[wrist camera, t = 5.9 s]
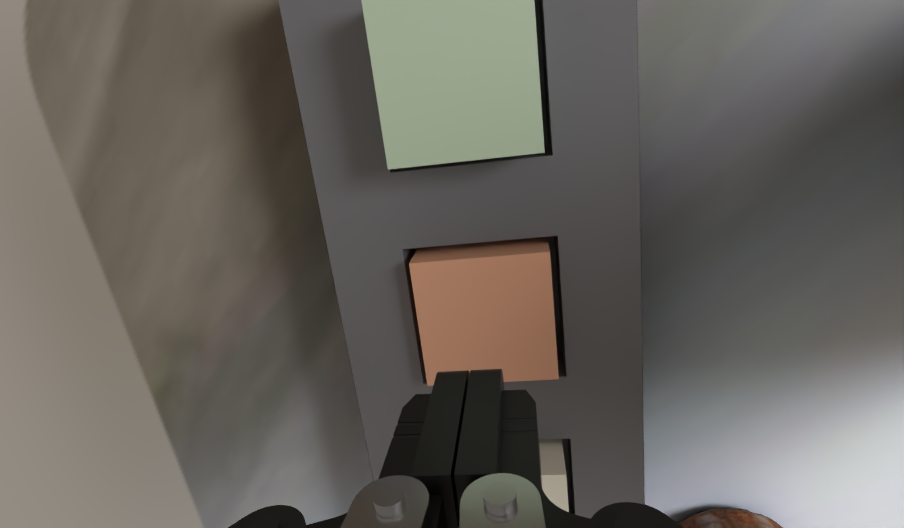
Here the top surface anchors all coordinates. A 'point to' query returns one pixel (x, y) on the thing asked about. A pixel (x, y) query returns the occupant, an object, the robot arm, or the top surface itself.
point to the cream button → (554, 472)
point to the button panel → (493, 228)
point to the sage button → (455, 79)
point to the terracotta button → (486, 308)
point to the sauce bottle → (728, 519)
